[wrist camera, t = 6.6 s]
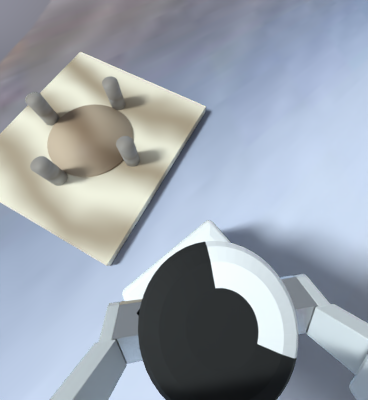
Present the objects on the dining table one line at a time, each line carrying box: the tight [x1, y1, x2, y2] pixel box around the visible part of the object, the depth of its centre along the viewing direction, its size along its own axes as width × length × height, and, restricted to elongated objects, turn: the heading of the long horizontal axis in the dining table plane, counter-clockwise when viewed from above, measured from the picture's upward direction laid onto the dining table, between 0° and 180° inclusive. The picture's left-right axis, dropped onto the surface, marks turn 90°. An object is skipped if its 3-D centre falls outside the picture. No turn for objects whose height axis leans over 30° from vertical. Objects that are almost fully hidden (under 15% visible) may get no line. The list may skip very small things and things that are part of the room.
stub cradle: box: [0, 52, 206, 266], centre depth 21 cm, size 20×18×4 cm
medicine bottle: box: [122, 220, 298, 400], centre depth 13 cm, size 7×7×12 cm
